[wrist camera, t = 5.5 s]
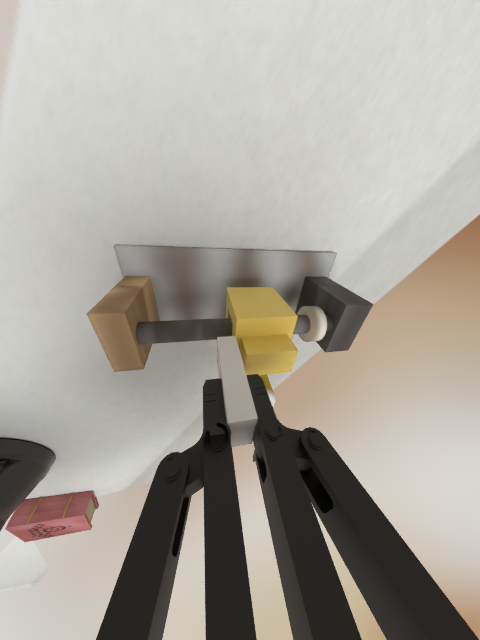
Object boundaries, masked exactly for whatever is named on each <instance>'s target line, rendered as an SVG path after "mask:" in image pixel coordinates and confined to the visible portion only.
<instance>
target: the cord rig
mask: <svg viewBox="0 0 480 640" xmlns="http://www.w3.org/2000/svg"><path fill="white" fill-rule="evenodd" d="M114 249H115V252H116V255H117V259H118V262H119V265H120V268H121V272H122V275H123V279H122V280H121V281H120V282H119V283H118V284H117V285H116V286H115V287H114V288H113V289H112V290H111V291H110V292H109V293H108V294H107V295H106V296H105V297H104V298H103V299H102V300H101V301H100V302H99V303H98V304H97V305H96V306H94V307H93V308H92V309H91V310H90V311H89V312H88V313H87V316H88V318H89V320H90V322H91V324H92V326H93V328H94V330H95V332H96V334H97V337H98V339H99V341H100V343H101V345H102V347H103V349H104V351H105V353H106V355H107V357H108V360H109V362H110V364H111V366H112V368H113V370H114V372H118V371H128V370H139V369H144V367H145V364H146V361H147V358H148V355H149V352H150V349H151V346H152V344H153V343H168V342H183V341H198V340H213V339H217V337H226V336H232V325H233V324H232V321H231V318H226V295H227V287H273V288H274V289H275V290H276V292H277V293H278V294H279V295H280V296H281V297H282V298H283V300H284V301H285V302H286V303H287V304H288V305H289V307H290V308H291V309H292V310H293V311H294V312H295V313H296V315H297V316H298V318H297V321H296V324H295V328H294V331H293V334H299V336H300V338H301V339H302V340H303V341H305V342H310V341H316V342H317V343H318V344H319V345H320V347H321V348H322V349H323V350H324V351H325V352H333V351H345V350H349V348H350V346H351V344H352V342H353V340H354V339H355V337H356V335H357V333H358V331H359V329H360V328H361V326H362V324H363V322H364V320H365V319H366V317H367V315H368V313H369V311H370V309H371V308H372V306H373V304H372V303H370V302H368V301H367V300H365V299H363V298H361V297H360V296H358V295H356V294H355V293H353V292H351V291H349V290H348V289H346V288H344V287H343V286H341V285H339V284H337V283H336V282H334V281H332V280H330V279H329V278H328V277H329V274H330V272H331V269H332V266H333V263H334V260H335V257H336V255H337V253H335V252H312V251H283V250H254V249H225V248H196V247H166V246H137V245H115V246H114Z"/></svg>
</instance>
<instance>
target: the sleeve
mask: <svg viewBox="0 0 480 640" xmlns="http://www.w3.org/2000/svg"><path fill="white" fill-rule="evenodd" d="M226 318H231V321H232V324H233V325H232V336H236V339H237V342H238V346H239V350H240V354H241V357H242V361H243V365H244V369H245V372H246V375H252V374H258V375H266V374H275V373H284V372H291V370H292V367H293V364H294V361H295V358H296V355H297V352H298V350H297V348H296V347H295V345H294V344H293V342H292V341H291V338H292V335H293V331H294V328H295V324H296V321H297V318H298V316H297V315H296V313H295V312H294V311H293V310H292V309H291V308H290V307H289V305H288V304H287V303H286V302H285V301H284V300H283V298H282V297H281V296H280V295H279V294H278V293H277V292H276V290H275V289H274V288H273V287H227V295H226Z"/></svg>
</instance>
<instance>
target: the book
mask: <svg viewBox="0 0 480 640" xmlns="http://www.w3.org/2000/svg"><path fill="white" fill-rule="evenodd" d="M98 506H99V503H98V500H97V497H95V495H94V492H93V491H86V492H78V493H71V494H63V495H56V496H48V497H40V498H33V499H25V500H23V502H22V503H21V504H20V505H19V506H18V507H17V508H16V510H15V512H14V513H13V515H12V517H11V519H10V520H9V522H8V524H7V526H6V530H7V531H9V532H10V533H12V534H13V535H15V536H16V537H18V538H19V539H21V540H22V541H24V542H29V541H34V540H39V539H44V538H49V537H55V536H60V535H65V534H70V533H75V532H81V531H86V530H91V527H92V525H91V520H92V517H93V514H94V511H95V509H97V508H98Z"/></svg>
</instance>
